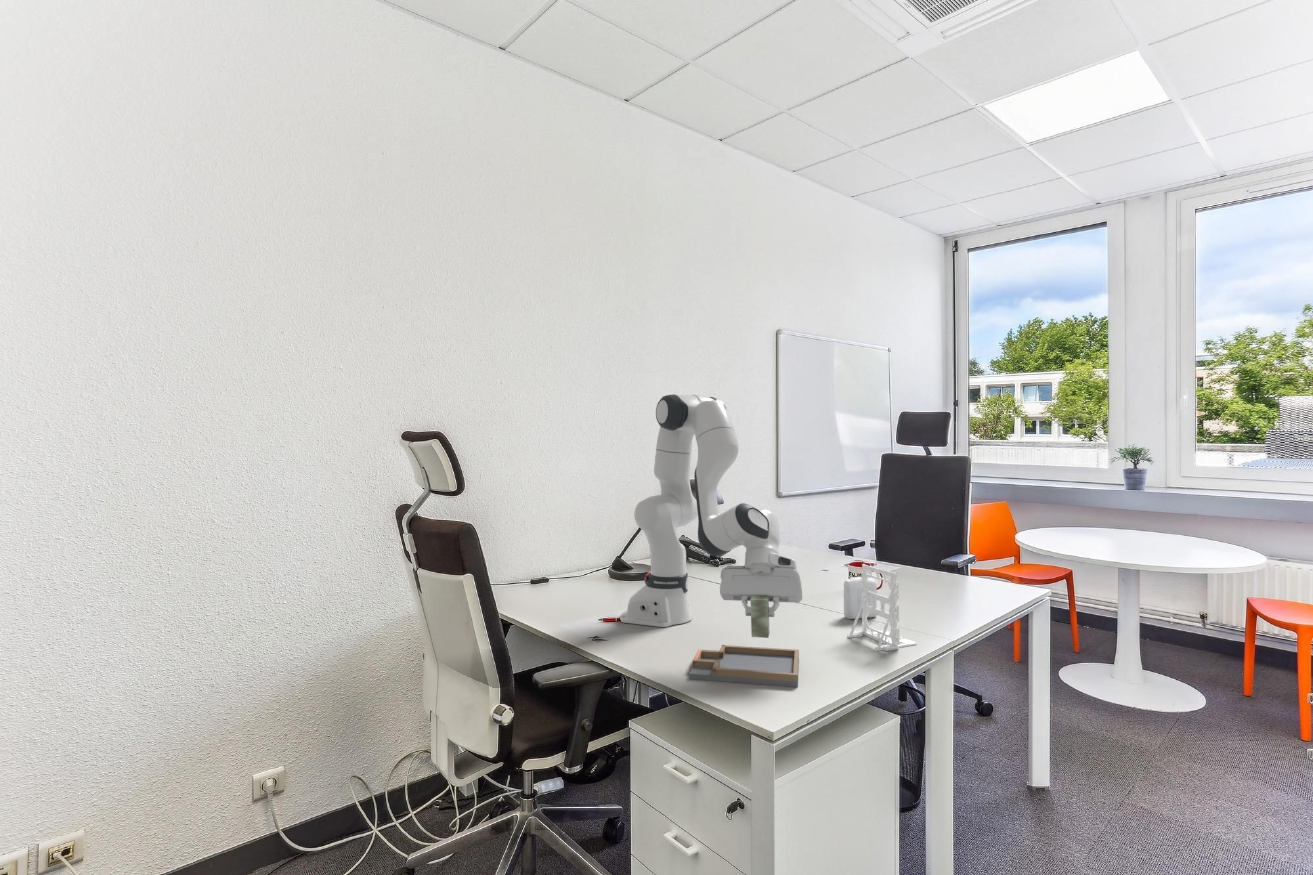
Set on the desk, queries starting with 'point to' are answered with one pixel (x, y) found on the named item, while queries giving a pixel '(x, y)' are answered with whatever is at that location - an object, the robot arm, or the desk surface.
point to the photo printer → (857, 596)
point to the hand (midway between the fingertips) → (759, 615)
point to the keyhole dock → (747, 665)
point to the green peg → (759, 616)
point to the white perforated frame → (881, 612)
